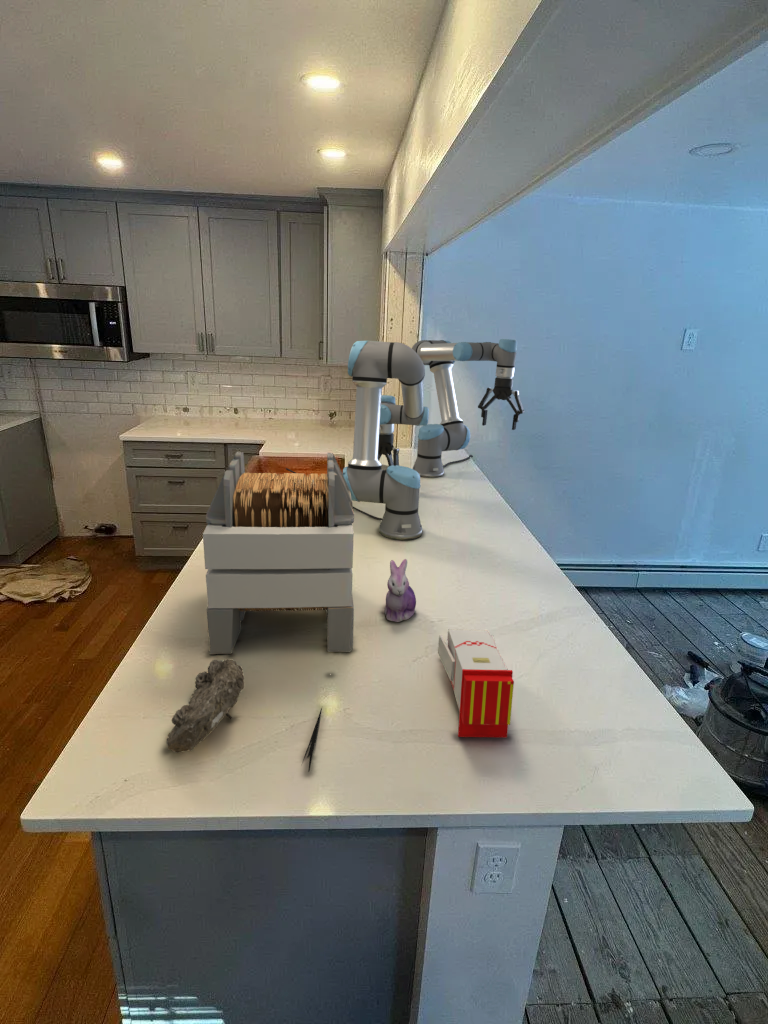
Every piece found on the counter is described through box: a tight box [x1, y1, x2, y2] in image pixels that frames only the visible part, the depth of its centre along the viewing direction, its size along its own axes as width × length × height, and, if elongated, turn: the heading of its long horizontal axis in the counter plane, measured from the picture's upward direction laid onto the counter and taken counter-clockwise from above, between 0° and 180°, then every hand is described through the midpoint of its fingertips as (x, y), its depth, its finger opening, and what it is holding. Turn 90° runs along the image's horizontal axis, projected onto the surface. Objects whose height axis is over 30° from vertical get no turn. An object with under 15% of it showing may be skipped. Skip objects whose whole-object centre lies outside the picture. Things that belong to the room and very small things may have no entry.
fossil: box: [166, 658, 245, 754], centre depth 106 cm, size 22×10×15 cm
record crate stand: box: [202, 451, 355, 655], centre depth 137 cm, size 34×33×41 cm
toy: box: [437, 628, 515, 738], centre depth 117 cm, size 12×13×30 cm
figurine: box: [384, 558, 417, 623], centre depth 145 cm, size 9×10×15 cm
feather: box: [301, 673, 332, 771], centre depth 108 cm, size 2×28×2 cm
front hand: (382, 485), depth 246 cm, fingers closed on block, 7 cm apart
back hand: (498, 427), depth 247 cm, fingers open, 13 cm apart
